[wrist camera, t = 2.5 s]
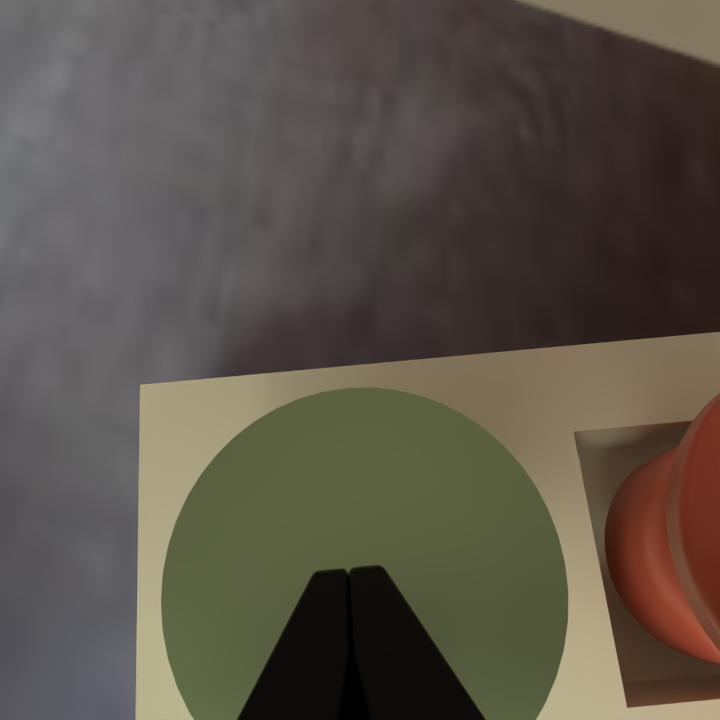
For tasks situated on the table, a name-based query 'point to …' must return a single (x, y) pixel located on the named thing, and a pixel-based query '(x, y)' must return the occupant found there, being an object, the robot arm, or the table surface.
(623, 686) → the button console
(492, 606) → the sage green button
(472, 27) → the table surface
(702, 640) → the red button
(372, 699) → the robot arm
